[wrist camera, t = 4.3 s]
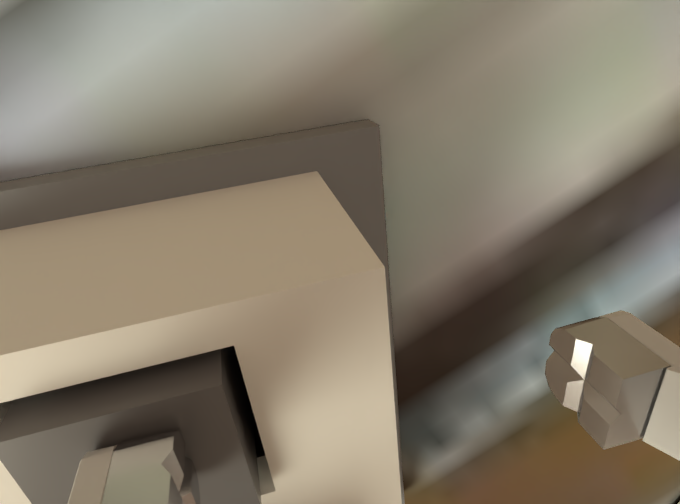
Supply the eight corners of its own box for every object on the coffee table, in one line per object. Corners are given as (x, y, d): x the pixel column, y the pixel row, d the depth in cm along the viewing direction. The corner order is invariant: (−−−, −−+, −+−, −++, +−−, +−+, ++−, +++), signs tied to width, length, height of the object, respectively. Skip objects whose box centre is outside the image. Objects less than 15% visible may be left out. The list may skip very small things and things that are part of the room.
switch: (217, 237, 13) (221, 384, 8) (244, 336, 15) (262, 511, 9) (83, 264, 12) (-12, 445, 7) (127, 364, 14) (78, 568, 9)
